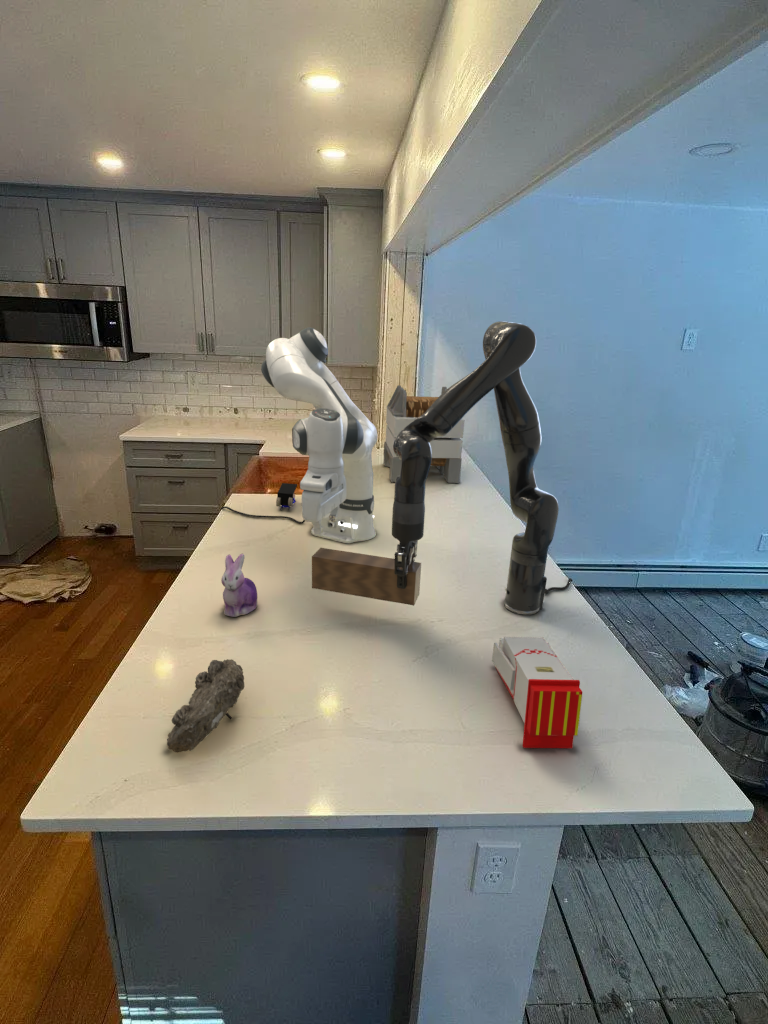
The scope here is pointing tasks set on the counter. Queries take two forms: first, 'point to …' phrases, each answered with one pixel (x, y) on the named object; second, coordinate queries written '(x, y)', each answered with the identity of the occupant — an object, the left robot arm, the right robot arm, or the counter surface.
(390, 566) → the box
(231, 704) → the fossil
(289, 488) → the figurine character
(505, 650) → the toy
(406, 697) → the counter surface
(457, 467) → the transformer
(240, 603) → the figurine
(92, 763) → the counter surface
